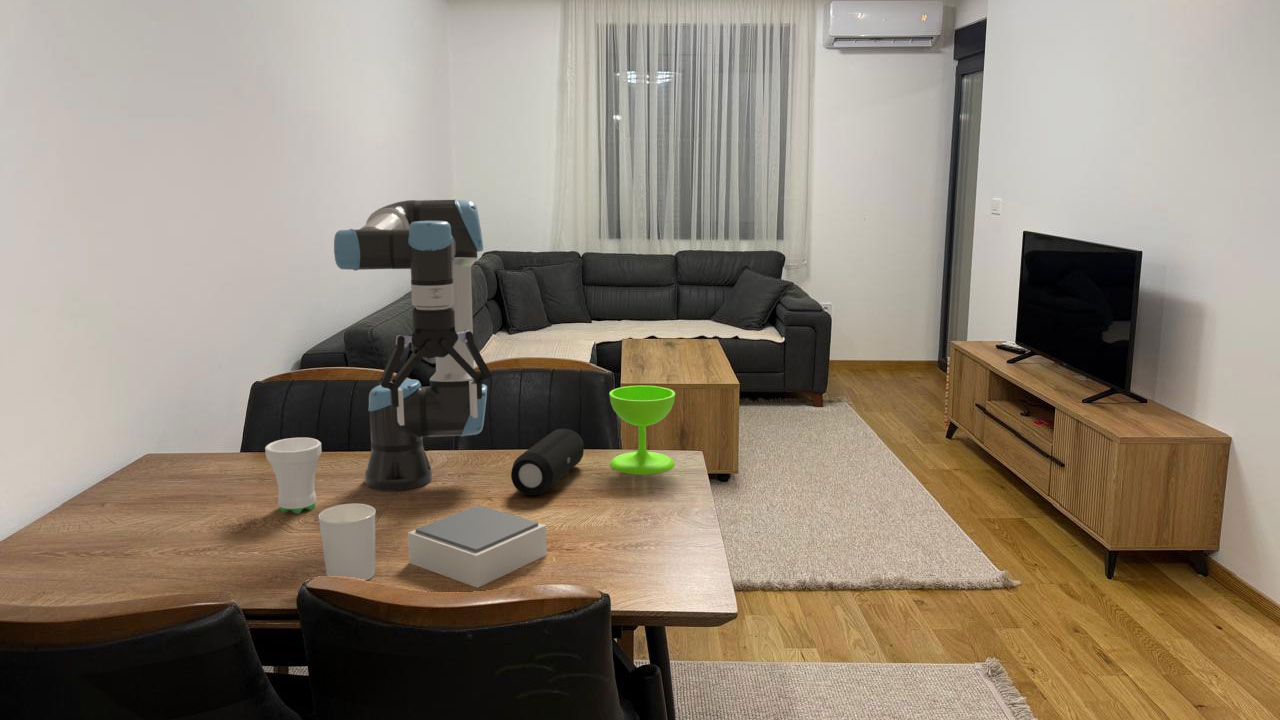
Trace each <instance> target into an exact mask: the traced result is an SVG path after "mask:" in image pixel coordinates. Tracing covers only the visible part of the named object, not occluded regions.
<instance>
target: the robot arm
mask: <svg viewBox="0 0 1280 720" xmlns="http://www.w3.org/2000/svg"><path fill="white" fill-rule="evenodd" d="M479 217H480V216H479V212H478V208H477V205H476V203H474V201H471V200H467V199H465V200H463V199H456V198H455V199H424V200H421V199H419V200H418V199H417V200H416V199H411V200H408V199H407V200H402V201H397V202H394V203H390V204H387V205H385V206H383V207H380V208H377V210H375V211H374V212H372V213H371V214H370V215H369V216H368V218H367V220H366V222H365V224H364V225H363V226H362V227H361V228H359V229H353V228H349V229H340V230H337V232H336V233H335V234H334V238H333V253H334V261H335V264H336V266H337V267H338V268H339V269H341V270H347V271H348V270H350V271H351V270H353V271H358V270H359V271H363V270H364V271H365V270H410V278H411V279H410V288H411V289H410V290H411V305H412V306H413V307H414V308H413V309H412V310H411V312H412V334H411V335H402V334H400V333H398V334H396V335H395V337H394V338H395V343H394V348H393V350H392V351H391V354H390V356H389V358H388V360H387V363H386V366H385V368H384V370H383V372H382V374H381V377H380V378H379V379H380V380H379V381H378V382H379V385H377V386H375V387H373V388H372V389H371V390H370V392H369V393H368V394H369V395H368V408H367V411H368V413H369V415H368V417H369V430H370V431H369V432H370V449H371V451H370V454H369V459H368V462H367V467H366V471H364V472H365V474H364V478H365V479H364V482H365V485H366V486H367V487H368V488H370V489H374V490H378V491H405V490H412V489H416V488H419V487H422V486H425V485H427V484H429V483H430V482H431V481H432V479H433V473H432V472H433V471H432V466H431V465H430V462H429V459H428V457H427V454H426V452H425V449H424V448H425V447H424V441H423V438H426V437H427V438H428V437H429V438H430V437H431V438H433V437H456V436H457V437H459V436H460V437H464V436H465V437H466V436H473V435H474V436H476V435H478V434H480V433H481V432H482V431H483V427H484V423H485V416H486V415H485V414H486V406H487V394H488V393H487V391H488V386H487V384H484V383H483V382H484V381H486V380H489V379H491V378H492V373H491V371H490V370H489V367H488V366H487V363H486V362H485V360H484V359H483V357H482V355H481V353H480V351H479V349H478V347H477V346H476V344H475V341H474V331H473V329H474V328H473V327H474V325H473V322H474V321H473V296H472V295H473V293H472V291H473V290H472V266H473V265H474V264H475V263H476V262H477V260H478V252H479V253H480V252H482V251H484V242H483V234H482V229H481V223H480V218H479ZM410 343H411V344H412V345H413V347H415V349H414V350H413V351H412V353H411V354H410V357H409V358H408V359H407V361H406V362H405V363H404V364H403V365H402V366H401V368H400V369H399V371H398V372H397V373H396V374H395V371H396V369H397V367H398V364H399V362H400V359H401V358H402V355H403V353H404V350H405V349H406V348H407V347H408V346H409V345H410ZM424 358H426V359H434V358H435V372H434V374H433V375H432V376H431V377H430V378H429V386H422V383H421V382H420V381H419V380H418V379H411V378H408V376H410V374H411V373H412V371H413V370H414V369H415V368H416V366H417V365H418V364H419V363H420V362H422V359H424ZM474 362H475V363H474ZM474 364H476V366H477V368H478V369H479V371H480V372H479V373H478V372H477V371H476V370H475V365H474ZM394 374H395V376H394ZM393 376H394V377H393ZM392 377H393V378H392Z"/></svg>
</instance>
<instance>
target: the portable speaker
mask: <svg viewBox="0 0 1280 720" xmlns="http://www.w3.org/2000/svg"><path fill="white" fill-rule="evenodd" d="M584 450H585V449H584V441H583V439H582V437H581V435H580V434H578V433H577V432H575V430H571V429H567V428H558V429H555V430H553V431H551V432H550V433H549V434H547V435H546V436H545V437H543V438H542V439H541V440H539V441H538V442H536V443H535V444H534V445H532V446H531V447H530V448H528V449H527V450H526V451H525V452H522V454H520V455H519V456H517V458H516V459H515V460H514V462H513V465H512V466H511V473H510V475H511V476H510V477H511V478H510V479H511V482H512V484H513V486H514V487H515V489H516V490H517V491H519V492H520V493H522V495H523V494H524V495H526V496H539V495H542V494H545V493H546V492H547V491H548V490H549V489H551V488H552V487H553V486H554V485H555V484H556V483H557V482H558V481H559V480H561V478H563V477H564V476H565V475H566V474H567V473H569V472H570V471H571V470H572V469H573V468H575V466H577V465H578V464H579V463H580V462H581V461H582V459H583V456H584Z"/></svg>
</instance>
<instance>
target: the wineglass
mask: <svg viewBox="0 0 1280 720" xmlns="http://www.w3.org/2000/svg"><path fill="white" fill-rule="evenodd" d="M608 395H609V401H610V404H611V407H612V409H613V411H614V412H615V414H616V415H617V416H618V417H619V418H620V419H621V420H622V421H623V422H626V423H627V424H629V425H633V426H637V428H638V430H637V431H638V432H637V433H638V449H637V451H630V452H623V453H621V454H619V455H617V456H614V457H613V458H612V459H611V461H610V462H609V466H610V468H611V469H612V470H614V471H616V472H620V473H622V474H628V475H636V476H637V475H640V476H644V475H647V476H648V475H657V474H661V473H665V472H668V471H671V470H672V469H674V467H675V466H676V465H675V461H674V460H673V459H672V458H671V457H670V456H668V455H666V454H663V453H660V452H654V451H648V450H647V427H648V426H652V425H655V424H658V423H659V422H661V421H662V420H664V419H665V417H667V416H668V414H669V412H671V411H672V408H673V406H674V403H675V397H676V391H674V390H673V389H671V388H667V387H662V386H656V385H629V386H628V385H627V386H621V387H617V388H614V389H612V390H610V391H609V394H608Z"/></svg>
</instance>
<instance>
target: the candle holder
mask: <svg viewBox="0 0 1280 720" xmlns="http://www.w3.org/2000/svg"><path fill="white" fill-rule="evenodd" d="M376 511H377V510H376V508H374V506H372V505H369V504H366V503H357V502H356V503H344V504H338V505H334V506H330V507H327V508H325V509H323V510H322V511H320V512H319V513H318V516H317V517H318V520H319V523H318V524H319V529H320V537H321V544H322V551H323V552H322V553H323V559H324V568H325V573H326V576H327V575H329V576H347V577H355V578H360V579H365V580H367V581H369V580H371V579H372V578H373V577H374V576H375V574H376V513H377V512H376Z"/></svg>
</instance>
